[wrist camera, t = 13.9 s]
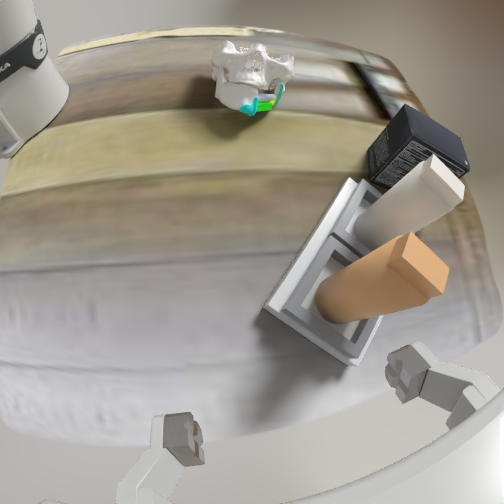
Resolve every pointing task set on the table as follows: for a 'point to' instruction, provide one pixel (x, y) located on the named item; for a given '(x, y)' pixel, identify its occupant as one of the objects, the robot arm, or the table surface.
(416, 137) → the small box
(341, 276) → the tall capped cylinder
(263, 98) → the partial skull model
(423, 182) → the grey base with column
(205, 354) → the table surface
